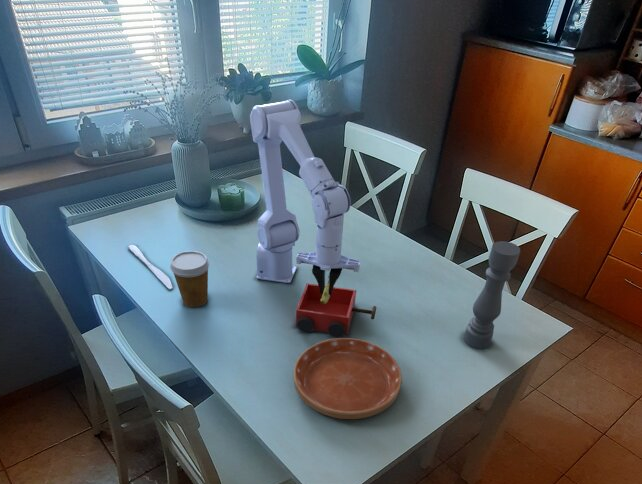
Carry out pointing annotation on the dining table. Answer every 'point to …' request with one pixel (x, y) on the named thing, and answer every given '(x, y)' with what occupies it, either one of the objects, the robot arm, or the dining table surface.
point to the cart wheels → (335, 327)
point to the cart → (326, 307)
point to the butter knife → (152, 267)
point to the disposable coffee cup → (191, 277)
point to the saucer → (347, 378)
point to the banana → (325, 294)
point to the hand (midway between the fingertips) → (326, 291)
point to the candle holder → (491, 294)
